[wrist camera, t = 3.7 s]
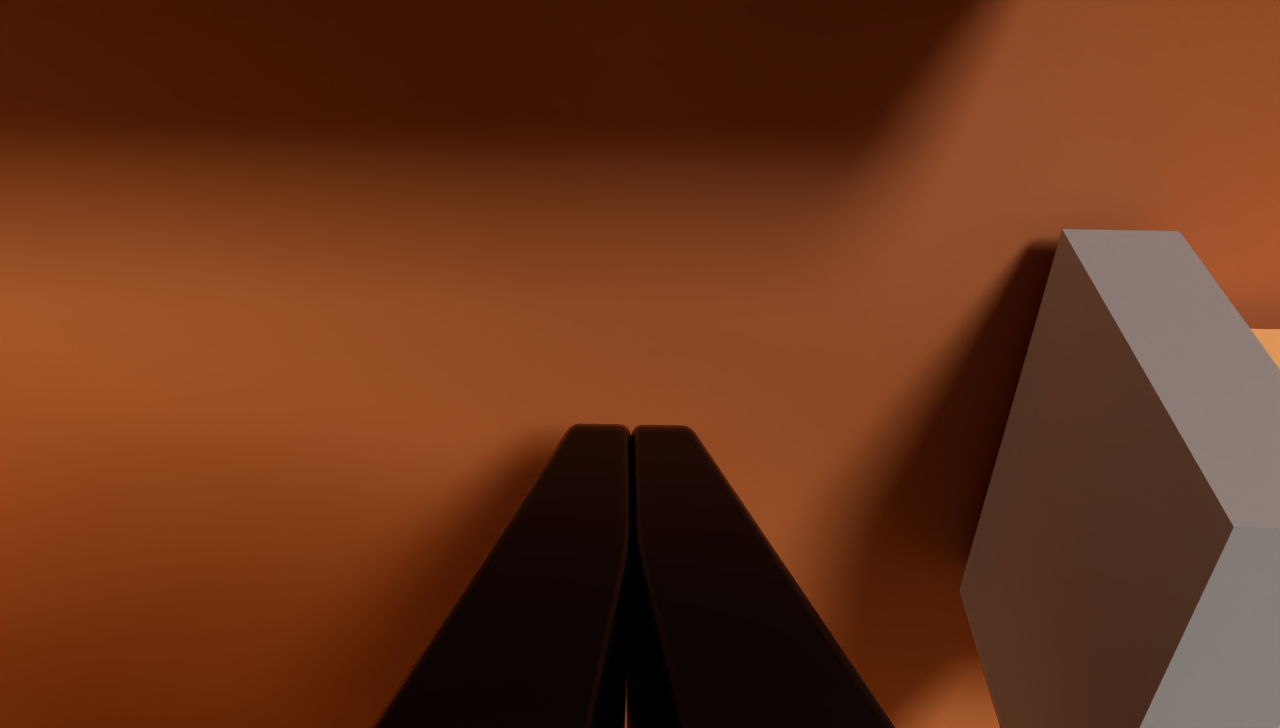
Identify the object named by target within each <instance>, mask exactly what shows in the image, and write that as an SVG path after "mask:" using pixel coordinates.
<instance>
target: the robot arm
mask: <svg viewBox="0 0 1280 728" xmlns="http://www.w3.org/2000/svg"><path fill="white" fill-rule="evenodd" d="M626 679H627V683H626ZM625 704H626V707H627V728H895V727H894V725H893V724H892V722H891V721H890V720H889V718H888V717H887V715H886V714H885V712H884V711H883V709H882V708H881V706H880V705H879V703H878V702H877V700H876V699H875V697H874V696H873V694H872V693H871V692H870V690H869V689H868V687H867V686H866V684H865V683H864V681H863V680H862V678H861V677H860V675H859V674H858V672H857V671H856V669H855V668H854V666H853V665H852V663H851V662H850V661H849V659H848V658H847V656H846V655H845V653H844V652H843V650H842V649H841V647H840V646H839V644H838V643H837V641H836V640H835V638H834V637H833V635H832V634H831V633H830V631H829V630H828V628H827V627H826V625H825V624H824V622H823V621H822V619H821V618H820V616H819V615H818V613H817V612H816V610H815V609H814V607H813V606H812V604H811V603H810V602H809V600H808V599H807V597H806V596H805V594H804V593H803V591H802V590H801V588H800V587H799V585H798V584H797V582H796V581H795V579H794V578H793V576H792V575H791V574H790V572H789V571H788V569H787V568H786V566H785V565H784V563H783V562H782V560H781V559H780V557H779V556H778V554H777V553H776V551H775V550H774V548H773V547H772V545H771V544H770V543H769V541H768V540H767V538H766V537H765V535H764V534H763V532H762V531H761V529H760V528H759V526H758V525H757V523H756V522H755V520H754V519H753V517H752V516H751V514H750V513H749V512H748V510H747V509H746V507H745V506H744V504H743V503H742V501H741V500H740V498H739V497H738V495H737V494H736V492H735V491H734V489H733V488H732V486H731V485H730V484H729V482H728V481H727V479H726V478H725V476H724V475H723V473H722V472H721V470H720V469H719V467H718V466H717V464H716V463H715V461H714V460H713V458H712V457H711V455H710V454H709V453H708V451H707V450H706V448H705V447H704V445H703V444H702V442H701V441H700V439H699V438H698V436H697V435H696V434H695V432H694V431H693V430H692V429H690V428H689V427H687V426H680V425H639V426H637V427H635V428H634V430H633V431H632V435H631V436H630V431H629V430H628V428H627V427H625V426H624V425H620V424H576V425H573V426H572V427H570V428H569V429H568V430H567V432H566V433H565V434H564V436H563V437H562V439H561V441H560V442H559V444H558V445H557V447H556V448H555V450H554V451H553V453H552V454H551V456H550V457H549V459H548V460H547V462H546V463H545V465H544V466H543V468H542V469H541V471H540V472H539V474H538V475H537V477H536V478H535V480H534V481H533V483H532V485H531V486H530V488H529V489H528V491H527V492H526V494H525V495H524V497H523V498H522V500H521V501H520V503H519V504H518V506H517V507H516V509H515V510H514V512H513V513H512V515H511V516H510V518H509V519H508V521H507V522H506V524H505V525H504V527H503V529H502V530H501V532H500V533H499V535H498V536H497V538H496V539H495V541H494V542H493V544H492V545H491V547H490V548H489V550H488V551H487V553H486V554H485V556H484V557H483V559H482V560H481V562H480V563H479V565H478V566H477V568H476V569H475V571H474V573H473V574H472V576H471V577H470V579H469V580H468V582H467V583H466V585H465V586H464V588H463V589H462V591H461V592H460V594H459V595H458V597H457V598H456V600H455V601H454V603H453V604H452V606H451V607H450V609H449V610H448V612H447V613H446V615H445V617H444V618H443V620H442V621H441V623H440V624H439V626H438V627H437V629H436V630H435V632H434V633H433V635H432V636H431V638H430V639H429V641H428V642H427V644H426V645H425V647H424V648H423V650H422V651H421V653H420V654H419V656H418V658H417V659H416V661H415V662H414V664H413V665H412V667H411V668H410V670H409V671H408V673H407V674H406V676H405V677H404V679H403V680H402V682H401V683H400V685H399V686H398V688H397V689H396V691H395V692H394V694H393V695H392V697H391V698H390V700H389V702H388V703H387V705H386V706H385V708H384V709H383V711H382V712H381V714H380V715H379V717H378V718H377V720H376V721H375V723H374V724H373V726H372V727H371V728H625Z"/></svg>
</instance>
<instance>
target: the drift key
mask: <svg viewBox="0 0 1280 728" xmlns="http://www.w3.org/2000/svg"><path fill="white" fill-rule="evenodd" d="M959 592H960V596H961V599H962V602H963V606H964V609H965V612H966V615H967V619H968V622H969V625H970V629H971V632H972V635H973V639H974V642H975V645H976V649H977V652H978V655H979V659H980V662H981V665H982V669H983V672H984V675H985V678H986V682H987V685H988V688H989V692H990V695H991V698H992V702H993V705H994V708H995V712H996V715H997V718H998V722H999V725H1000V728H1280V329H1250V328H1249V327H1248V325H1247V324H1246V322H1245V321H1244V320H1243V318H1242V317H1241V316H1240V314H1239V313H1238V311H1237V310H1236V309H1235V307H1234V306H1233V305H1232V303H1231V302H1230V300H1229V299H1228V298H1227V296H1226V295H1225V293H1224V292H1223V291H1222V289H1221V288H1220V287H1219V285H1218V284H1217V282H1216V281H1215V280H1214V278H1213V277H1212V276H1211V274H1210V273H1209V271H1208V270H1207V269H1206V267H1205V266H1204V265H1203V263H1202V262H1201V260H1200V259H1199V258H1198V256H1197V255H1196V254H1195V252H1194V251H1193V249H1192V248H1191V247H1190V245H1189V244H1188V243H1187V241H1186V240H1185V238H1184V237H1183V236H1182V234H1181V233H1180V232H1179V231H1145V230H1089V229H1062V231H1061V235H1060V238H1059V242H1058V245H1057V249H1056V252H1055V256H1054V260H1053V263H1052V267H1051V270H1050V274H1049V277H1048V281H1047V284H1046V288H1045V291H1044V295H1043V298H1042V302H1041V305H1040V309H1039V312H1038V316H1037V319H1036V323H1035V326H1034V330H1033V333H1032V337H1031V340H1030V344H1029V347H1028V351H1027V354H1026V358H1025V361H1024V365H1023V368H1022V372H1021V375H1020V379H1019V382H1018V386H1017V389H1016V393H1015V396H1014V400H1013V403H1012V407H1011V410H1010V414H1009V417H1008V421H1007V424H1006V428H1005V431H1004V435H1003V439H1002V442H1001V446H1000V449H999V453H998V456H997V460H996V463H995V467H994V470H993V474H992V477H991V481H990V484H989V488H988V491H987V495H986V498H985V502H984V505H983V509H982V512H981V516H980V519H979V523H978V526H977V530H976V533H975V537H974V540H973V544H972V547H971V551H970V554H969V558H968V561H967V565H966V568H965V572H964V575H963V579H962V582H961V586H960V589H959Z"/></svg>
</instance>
